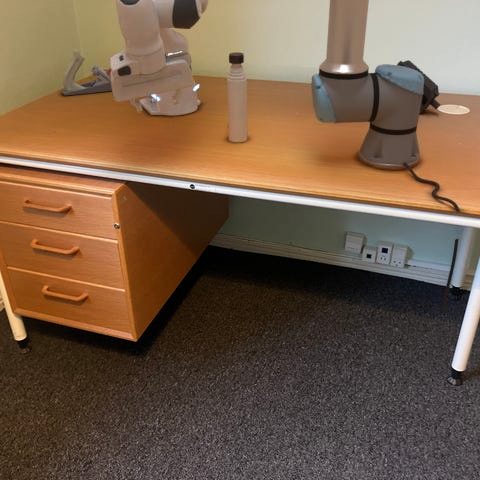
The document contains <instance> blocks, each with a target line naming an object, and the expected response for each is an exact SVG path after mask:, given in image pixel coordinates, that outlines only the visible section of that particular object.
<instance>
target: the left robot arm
mask: <svg viewBox="0 0 480 480" xmlns="http://www.w3.org/2000/svg"><path fill="white" fill-rule="evenodd" d="M209 2H210V0H115V7H116V15H117V20H118V26H119V30H120V34H121V35H122V37H123V39H124V49H123V50H122V51H120V52H118V53H116V54H114V55H113V56H111V57H110V58H109V68H111V73H110V79H111V86H112V91H111V92H112V96H113V99H114V101H116V102H118V103H121V102H126V101H129V103H130V104H131V106H133V107H134V108H135V109H136V113H138V114H139V113H142V112H144V111H143V109H145V110H146V112H147V113H149V115H151V116H183V115H188V114H191V113H193V112H196V111H197V110H198V108H199V106H200V105H201V103H202V102H201V100H200V99H198V93H197V89H199V88H200V83H199V84H196V81H195V79H194V76H193V68H192V62H193V61H192V56H191V54H190V49H189V48H190V46H189V41H188V38H187V36H185V35H184V34H182V33H181V32H179V31H178V30H177V31H176V29H179V30H190V29H192V28H193V27H194V26H195V25H196V24H197V23H198V22H199V21H200V19H201V16H202V15H203V14H204V13H205V12H206V11H207V9H208V6H209ZM174 29H175V30H174ZM140 98H141V99H140ZM136 99H139V100H138V101H136Z"/></svg>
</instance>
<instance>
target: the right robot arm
mask: <svg viewBox="0 0 480 480" xmlns="http://www.w3.org/2000/svg"><path fill="white" fill-rule="evenodd" d="M369 2H370V0H329V6H328V7H329V9H328V24H327V42H326V55H325V56H326V57H325V60H323V61H322V62H321V63H320V64H319V66H318V73H315V74H312V76H311V83H310V85H311V87H310V88H311V99H312V106H313V111H314V114H315V118H316V119H317V120H318V121H319V122H320V123H323V124H334V125H337V124H350V123H351V124H353V123H369V126H368V130H367V132H366V135H364V136H365V137H364V138H363V141H362V143H361V145H360V147H359V151H358V159H359V160H360V162H362V163H363V164H364V165H367V166H369V167H372V168H374V169H378V170H385V171H403V170H408V171H409V173H410V174H411V175H412V177H413V178H414V179H415V180H417V181H418V182H421V183H425V184H430V185H434V186H435V187H434V189H433V190H432V191H431V195H432V197H433V198H435V199H437V200H439V201H444V202H447V203H449V204H451V205H452V206H453V207H454V209H455V211H456V213H457V212H458V213H460V212H461V210H460V208H459V206H458V204H457V203H456V201H454V200H453V199H451V198H448V197H444V196H440V195H438V194H436V193H437V192H438V190H440V188H441V187H440V184H439V183H438V182H437V181H434V180H430V179H424V178H421V177H419V176H418V175H417V174H416V173H415V172H414V169H412V168H414V167H416V166H418V164H419V163H420V158H421V156H420V155H421V153H420V151H421V150H420V146H419V140H418V135H417V130H418V124H419V119H420V113H419V112H420V107H421V101H422V95H423V93H424V92H423V86H424V77H423V75H422V74H421V73H420V72H418V71H416V70H414V69H411V68H408V67H403V66H398V65H397V64H386V63H385V64H379V65H377V66H376V68H375V69H374V72H369V69H370V67H369V65H368V64H367V62H366V61H365V60H364V54H365V53H364V52H365V46H366V45H365V43H366V33H367V24H368V23H367V22H368V13H369ZM459 239H460V238H459V237H458V238H456V239H454V245H453V252H452V260H451V264H450V268H449V273H448V278H447V281H446V285H445V288H444V289H445V290H444V293H443V298H442V303H441V307H440V313H444V312H445V308H446V303H447V299H448V295H449V291H450V286H451V282H452V279H453V274H454V270H455V265H456V261H457V260H456V259H457V254H458V249H459Z"/></svg>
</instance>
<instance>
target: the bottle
mask: <svg viewBox="0 0 480 480" xmlns="http://www.w3.org/2000/svg"><path fill="white" fill-rule="evenodd" d="M226 88H227V89H226V91H227V93H226V94H227V122H228V123H227V124H228V125H227V126H228V127H227V128H228V140H229V141H230V142H231V143H244V142H247V140H248V78H247V74H246V72H245V69H244V68H243V65H242V63H241V64H231V65H230V68H229V71H228V74H227V78H226Z"/></svg>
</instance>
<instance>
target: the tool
mask: <svg viewBox="0 0 480 480" xmlns="http://www.w3.org/2000/svg"><path fill="white" fill-rule="evenodd" d="M396 65H398V66H403V67H408V68H411V69H414V70H416V71H418V72H420V73H421V74H422V75H423V77H424V86H423V92H424V93H423V95H422V101H421V107H420V112H419V114H421V113H423V112H424V111H425V110H427V109H428V108H429V107H430V106H431V107H432V108H433V109H435V110H437V109H439V107H441V105H442V104H441V103H440V102H438V101H437V99H436V98H437V97H439V96H440V92H439V86H438V84H437V83H436V82H434V81H433V79H431V78H430V77H429V76H428V75H427V74H426V73H424V72H423V71H422V69H420V68H419V67H418V66H417V65H416V64H414V62H412V61H411V60H409V59H408V60H404V61H402V60H400V61H398V62H397V64H396Z"/></svg>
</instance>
